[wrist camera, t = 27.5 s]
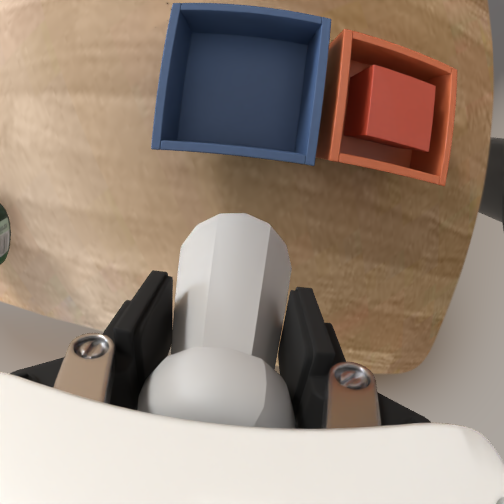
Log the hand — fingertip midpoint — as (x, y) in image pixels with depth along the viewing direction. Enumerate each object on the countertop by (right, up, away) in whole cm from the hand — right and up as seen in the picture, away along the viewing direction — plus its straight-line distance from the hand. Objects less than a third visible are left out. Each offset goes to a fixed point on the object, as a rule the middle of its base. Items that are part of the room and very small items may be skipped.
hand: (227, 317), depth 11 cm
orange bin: (+11, +14, +11) cm, 21 cm away
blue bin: (0, +15, +11) cm, 18 cm away
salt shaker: (0, +3, +7) cm, 8 cm away
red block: (+11, +14, +11) cm, 20 cm away
